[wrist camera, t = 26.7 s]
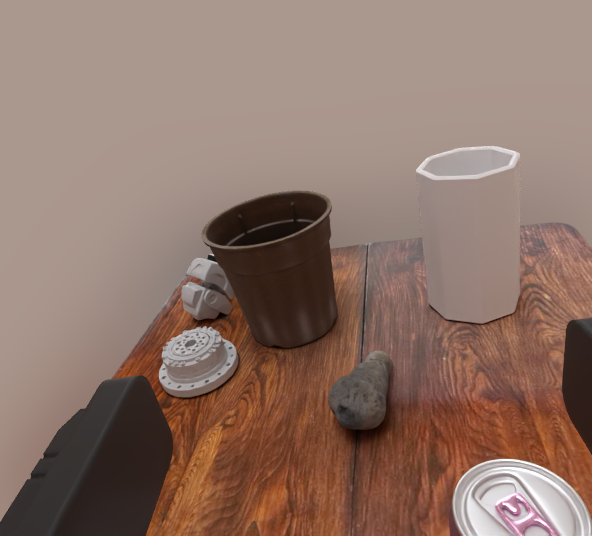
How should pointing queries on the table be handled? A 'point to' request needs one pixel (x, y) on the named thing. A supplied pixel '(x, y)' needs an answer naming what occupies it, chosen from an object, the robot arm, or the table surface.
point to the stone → (362, 393)
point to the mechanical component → (197, 362)
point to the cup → (471, 232)
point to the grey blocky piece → (207, 290)
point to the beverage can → (516, 502)
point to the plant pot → (278, 264)
